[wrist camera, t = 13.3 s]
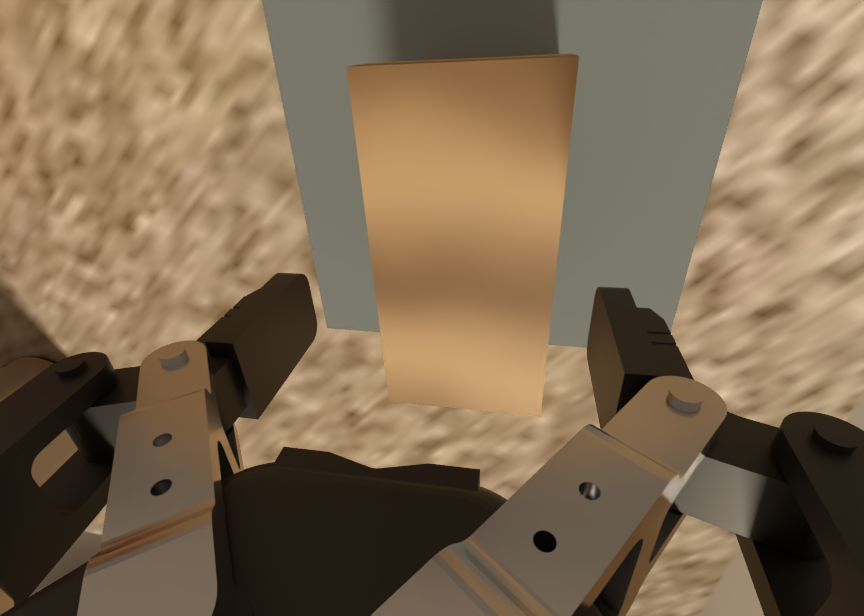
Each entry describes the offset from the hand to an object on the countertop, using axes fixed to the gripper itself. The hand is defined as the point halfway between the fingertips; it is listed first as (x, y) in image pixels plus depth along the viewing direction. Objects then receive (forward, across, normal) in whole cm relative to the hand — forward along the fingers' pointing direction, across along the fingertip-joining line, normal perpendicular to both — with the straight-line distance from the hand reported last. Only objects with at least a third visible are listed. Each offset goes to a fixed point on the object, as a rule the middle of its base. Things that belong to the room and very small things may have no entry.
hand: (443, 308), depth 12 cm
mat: (+12, 0, 0) cm, 12 cm away
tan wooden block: (+11, 0, 0) cm, 11 cm away
